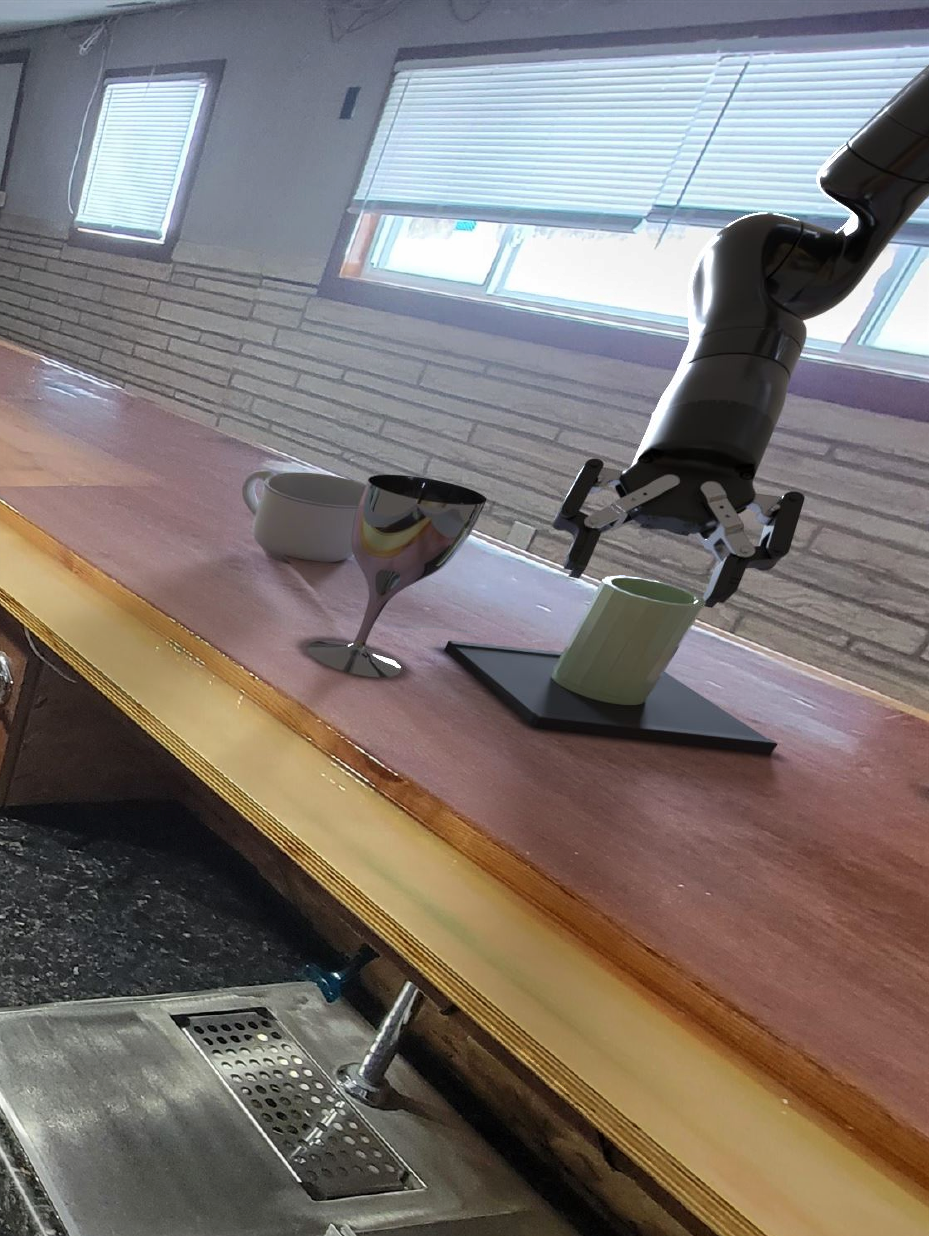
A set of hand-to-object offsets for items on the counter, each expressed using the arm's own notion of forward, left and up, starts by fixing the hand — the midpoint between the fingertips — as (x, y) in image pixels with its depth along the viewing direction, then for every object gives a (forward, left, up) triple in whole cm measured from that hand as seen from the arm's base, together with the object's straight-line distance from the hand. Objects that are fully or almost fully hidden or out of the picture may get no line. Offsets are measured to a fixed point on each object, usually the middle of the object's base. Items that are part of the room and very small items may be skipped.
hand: (641, 587), depth 83 cm
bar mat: (+4, +6, -8) cm, 11 cm away
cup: (+4, +6, -7) cm, 10 cm away
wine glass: (+21, +3, -8) cm, 22 cm away
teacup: (+17, -25, -8) cm, 31 cm away
